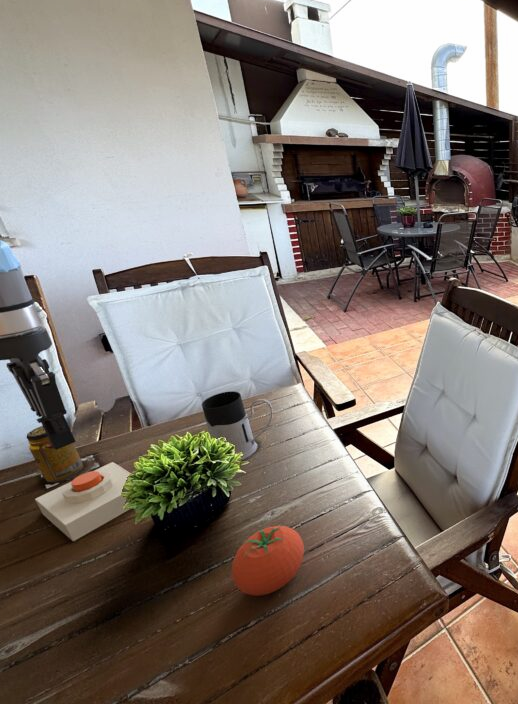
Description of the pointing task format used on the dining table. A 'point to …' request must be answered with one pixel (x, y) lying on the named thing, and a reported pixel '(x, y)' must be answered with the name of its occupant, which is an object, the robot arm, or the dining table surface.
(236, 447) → the glass holder
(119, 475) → the white button box
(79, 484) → the button
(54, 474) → the condiment
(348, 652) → the dining table surface
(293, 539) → the tomato
